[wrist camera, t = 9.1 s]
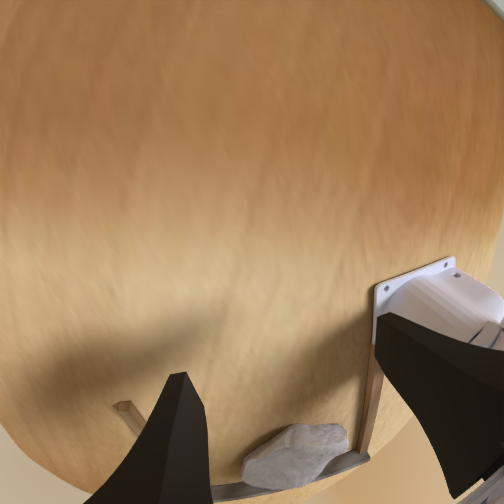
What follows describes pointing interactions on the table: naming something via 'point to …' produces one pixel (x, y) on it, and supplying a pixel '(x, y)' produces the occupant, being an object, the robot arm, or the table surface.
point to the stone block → (294, 456)
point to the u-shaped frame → (332, 467)
